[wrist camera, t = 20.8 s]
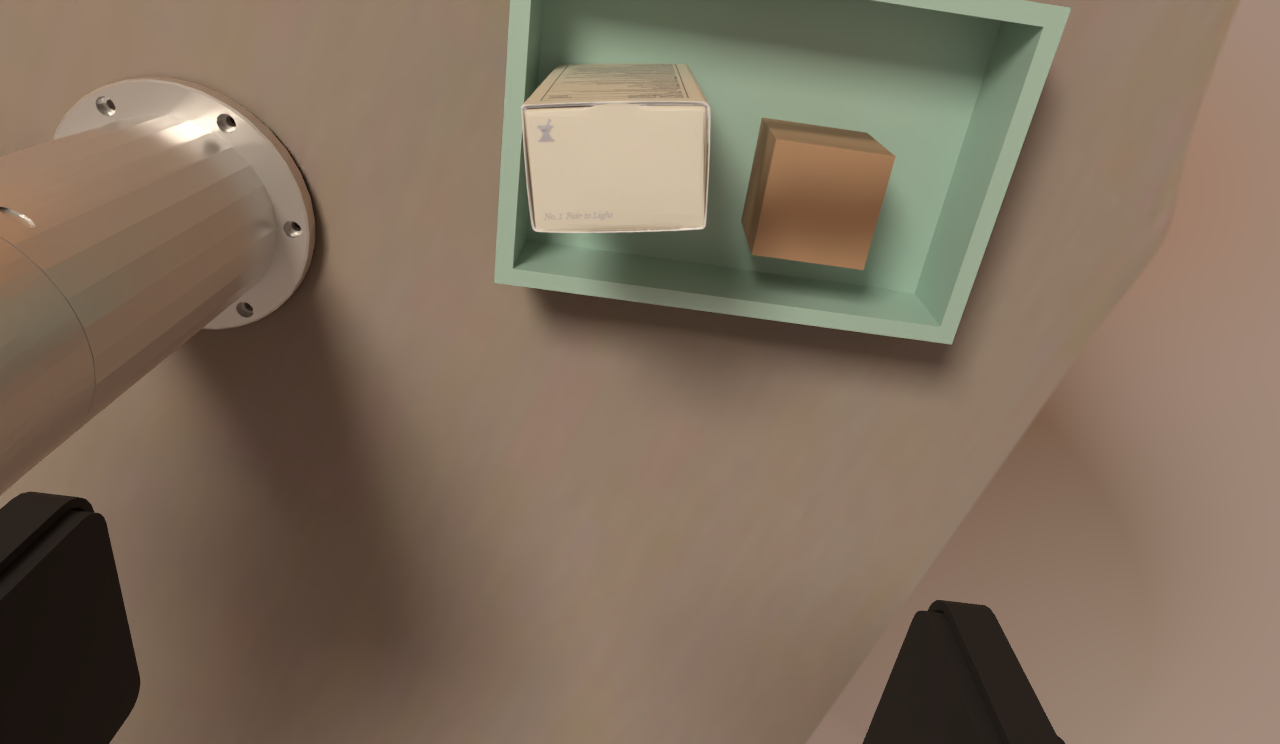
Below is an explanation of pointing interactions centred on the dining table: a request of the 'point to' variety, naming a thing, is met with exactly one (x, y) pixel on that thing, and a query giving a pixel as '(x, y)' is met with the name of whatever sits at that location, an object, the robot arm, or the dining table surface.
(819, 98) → the tote
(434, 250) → the dining table surface
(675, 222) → the skincare box
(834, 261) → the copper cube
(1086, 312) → the dining table surface
